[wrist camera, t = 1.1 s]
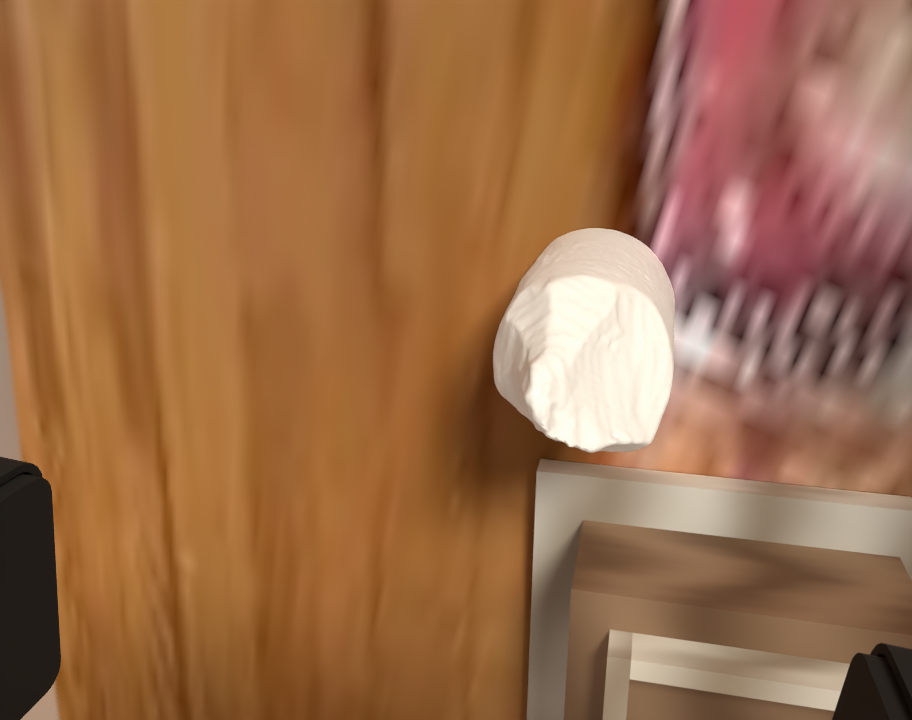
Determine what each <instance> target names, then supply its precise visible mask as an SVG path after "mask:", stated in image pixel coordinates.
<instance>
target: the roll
mask: <svg viewBox="0 0 912 720" xmlns="http://www.w3.org/2000/svg"><path fill="white" fill-rule="evenodd" d="M674 314H675V299H674V292H673V289H672V286H671V282H670V279H669V278H668V276H667V273H666V271H665V269H664V267H663V265H662V263H661V262H660V261H659V259H658V257H657V256H656V255H655V254H654V253H653V252H652V250H651V249H649V248H648V247H647V246H646V245H645V244H644V243H642V242H641V241H639V240H637V239H635V238H634V237H632V236H630V235H627V234H624V233H622V232H619V231H616V230H610V229H601V228H587V229H582V230H577V231H573V232H569V233H567V234H565V235H562V236H560V237H558V238H557V239H555V240H554V241H553V242H551V243H550V244H549V245H548V246H547V247H546V248H545V249H544V251H543V252H542V253H541V255H540V256H539V257H538V259H537V260H536V262H535V263H534V264H533V265H532V266H531V268H530V269H529V270H528V271H527V273H526V274H525V275H524V277H523V278H522V279H521V281H520V282H519V285H518V288H517V290H516V292H515V295H514V297H513V299H512V300H511V302H510V304H509V306H508V308H507V310H506V312H505V314H504V316H503V318H502V320H501V323H500V325H499V328H498V331H497V335H496V339H495V343H494V351H493V370H494V381H495V385H496V387H497V390H498V391H499V393H500V394H501V396H502V397H504V398H505V399H506V400H507V401H509V402H510V403H511V404H512V405H513V406H514V407H515V408H516V409H517V410H518V411H519V412H520V413H521V414H522V415H524V416H525V417H527V418H528V419H529V420H530V421H531V422H533V424H534V426H535V428H536V429H537V430H538V431H541V432H543V433H544V434H545V436H546V437H548V438H550V439H553V440H555V441H561V442H564V443H565V444H566V445H567V446H568V447H576V448H578V449H580V450H583V451H586V452H589V453H594V452H597V451H609V452H617V451H619V452H630V451H635V450H638V449H641V448H644V447H646V446H647V445H649V444H650V443H651V442H652V441H653V438H654V436H655V434H656V431H657V429H658V427H659V424H660V421H661V418H662V416H663V413H664V411H665V408H666V406H667V403H668V401H669V398H670V393H671V388H672V380H673V367H674V365H673V360H674Z"/></svg>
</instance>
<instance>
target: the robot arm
mask: <svg viewBox="0 0 912 720" xmlns="http://www.w3.org/2000/svg"><path fill="white" fill-rule="evenodd" d="M60 662H61V653H60V635H59V616H58V597H57V579H56V560H55V542H54V523H53V504H52V490H51V486H50V484H49V482H48V481H47V480H46V479H44V478H43V477H42V473H41V471H40V470H39V468H38V467H37V466H35V465H34V464H32V463H27V462H22V461H18V460H13V459H8V458H3V457H0V720H20V719H21V718H22V717H23V716H24V715H25V714H26V713H27V712H28V711H29V710H30V709H31V708H32V707H33V706H34V705H35V704H36V703H37V702H38V701H39V700H40V699H41V698H42V697H43V696H44V695H45V694H46V693H47V692H48V690H49V689H50V688H51V686H52V685H53V683H54V681H55V679H56V677H57V675H58V672H59V668H60ZM832 720H912V649H909V648H904V647H899V646H895V645H890V644H885V643H880V644H877V645H876V646H875V647H874V649H873V650H872V652H871V654H870V655H869V654H864V653H857V654H855V656H854V657H853V658H852V661H851V663H850V665H849V669H848V672H847V675H846V678H845V681H844V684H843V687H842V690H841V693H840V696H839V699H838V703H837V706H836V709H835V712H834V715H833V718H832Z"/></svg>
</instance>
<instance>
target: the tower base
mask: <svg viewBox="0 0 912 720" xmlns="http://www.w3.org/2000/svg"><path fill="white" fill-rule="evenodd" d="M880 643H885V644H890V645H895V646H899V647H904V648H909V649H912V497H908V496H898V495H888V494H879V493H869V492H859V491H850V490H840V489H830V488H820V487H811V486H801V485H791V484H782V483H772V482H762V481H752V480H743V479H733V478H723V477H714V476H704V475H694V474H684V473H675V472H665V471H655V470H646V469H636V468H626V467H617V466H607V465H597V464H587V463H578V462H568V461H558V460H549V459H540V462H539V465H538V468H537V473H536V498H535V523H534V548H533V573H532V598H531V623H530V648H529V674H528V699H527V720H832V718H833V715H834V712H835V709H836V706H837V703H838V699H839V696H840V693H841V690H842V687H843V684H844V681H845V678H846V675H847V672H848V669H849V665H850V663H851V661H852V658H853V657H854V656H855V654H857V653H864V654H869V655H870V654H871V652H872V650H873V649H874V647H875V646H876V645H877V644H880Z"/></svg>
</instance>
